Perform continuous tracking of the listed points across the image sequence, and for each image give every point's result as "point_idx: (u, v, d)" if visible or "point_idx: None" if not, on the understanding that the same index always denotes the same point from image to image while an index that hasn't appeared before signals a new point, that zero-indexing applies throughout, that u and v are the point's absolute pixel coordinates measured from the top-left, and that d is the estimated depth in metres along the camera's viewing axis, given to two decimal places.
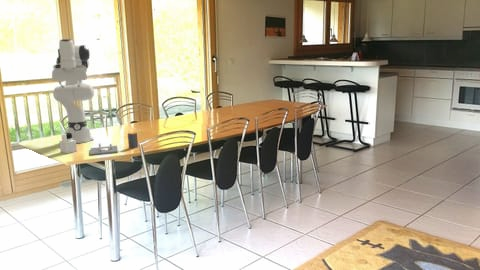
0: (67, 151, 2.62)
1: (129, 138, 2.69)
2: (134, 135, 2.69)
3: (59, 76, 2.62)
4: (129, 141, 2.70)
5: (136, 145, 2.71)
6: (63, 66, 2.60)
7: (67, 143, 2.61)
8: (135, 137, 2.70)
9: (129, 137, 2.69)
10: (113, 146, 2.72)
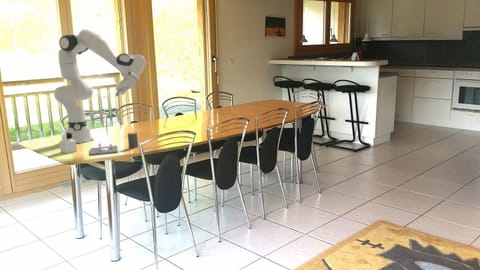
0: (67, 151, 2.62)
1: (129, 138, 2.69)
2: (134, 135, 2.69)
3: None
4: (129, 141, 2.70)
5: (136, 145, 2.71)
6: None
7: (67, 143, 2.61)
8: (135, 137, 2.70)
9: (129, 137, 2.69)
10: (113, 146, 2.72)
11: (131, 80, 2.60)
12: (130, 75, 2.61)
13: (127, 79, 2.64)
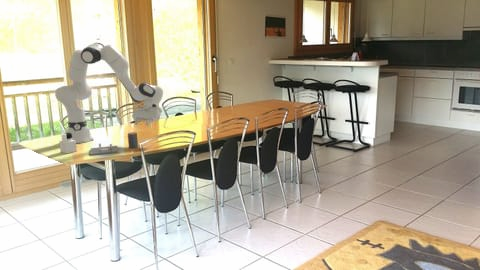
0: (67, 151, 2.62)
1: (129, 138, 2.69)
2: (134, 135, 2.69)
3: None
4: (129, 141, 2.70)
5: (136, 145, 2.71)
6: None
7: (67, 143, 2.61)
8: (135, 137, 2.70)
9: (129, 137, 2.69)
10: (113, 146, 2.72)
11: (158, 113, 2.77)
12: (156, 108, 2.78)
13: (150, 110, 2.79)
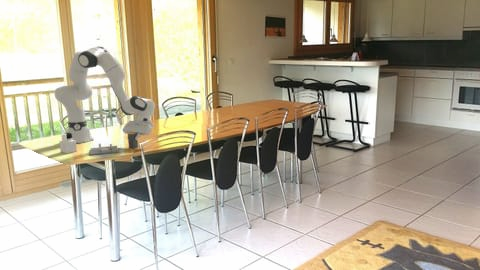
0: (67, 151, 2.62)
1: (129, 138, 2.69)
2: (134, 135, 2.69)
3: None
4: (129, 141, 2.70)
5: (136, 145, 2.71)
6: None
7: (67, 143, 2.61)
8: None
9: (129, 137, 2.69)
10: (113, 146, 2.72)
11: (149, 128, 2.70)
12: (147, 122, 2.70)
13: (141, 125, 2.72)
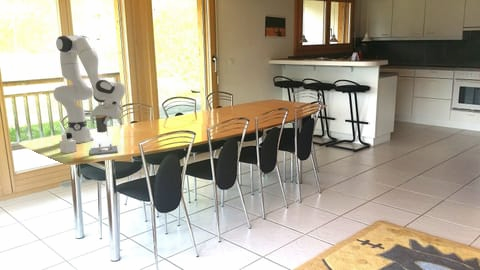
0: (67, 151, 2.62)
1: (97, 122, 2.60)
2: (102, 119, 2.60)
3: None
4: (97, 125, 2.60)
5: (105, 129, 2.62)
6: None
7: (67, 143, 2.61)
8: None
9: (97, 121, 2.60)
10: (113, 146, 2.72)
11: (118, 111, 2.60)
12: (116, 105, 2.61)
13: (110, 108, 2.63)
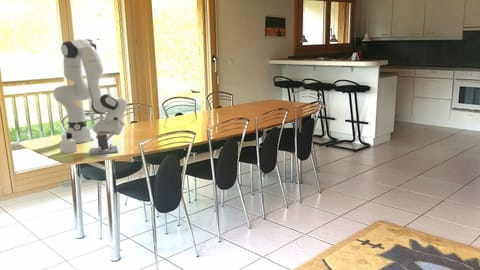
0: (67, 151, 2.62)
1: (99, 139, 2.62)
2: (104, 136, 2.62)
3: None
4: (99, 143, 2.63)
5: (106, 147, 2.64)
6: None
7: (67, 143, 2.61)
8: None
9: (99, 138, 2.62)
10: (113, 146, 2.72)
11: (119, 127, 2.62)
12: (117, 121, 2.63)
13: (112, 124, 2.65)
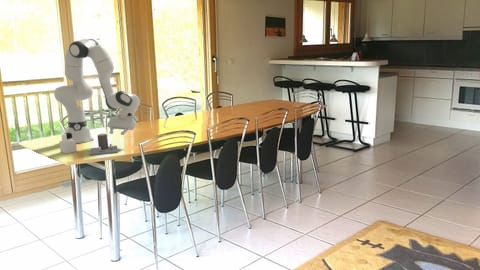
0: (67, 151, 2.62)
1: (99, 140, 2.62)
2: (104, 136, 2.62)
3: None
4: (99, 143, 2.63)
5: (106, 147, 2.64)
6: None
7: (67, 143, 2.61)
8: (105, 139, 2.63)
9: (99, 139, 2.62)
10: (113, 146, 2.72)
11: (133, 122, 2.73)
12: (131, 117, 2.74)
13: (126, 119, 2.76)
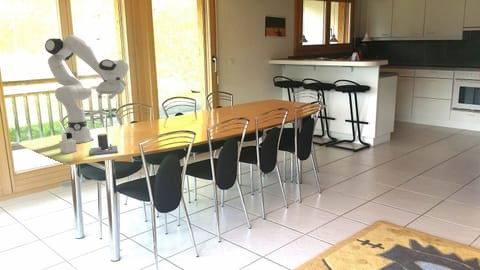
0: (67, 151, 2.62)
1: (99, 140, 2.62)
2: (104, 136, 2.62)
3: None
4: (99, 143, 2.63)
5: (106, 147, 2.64)
6: None
7: (67, 143, 2.61)
8: (105, 139, 2.63)
9: (99, 139, 2.62)
10: (113, 146, 2.72)
11: (121, 86, 2.70)
12: (120, 81, 2.71)
13: (114, 84, 2.73)
